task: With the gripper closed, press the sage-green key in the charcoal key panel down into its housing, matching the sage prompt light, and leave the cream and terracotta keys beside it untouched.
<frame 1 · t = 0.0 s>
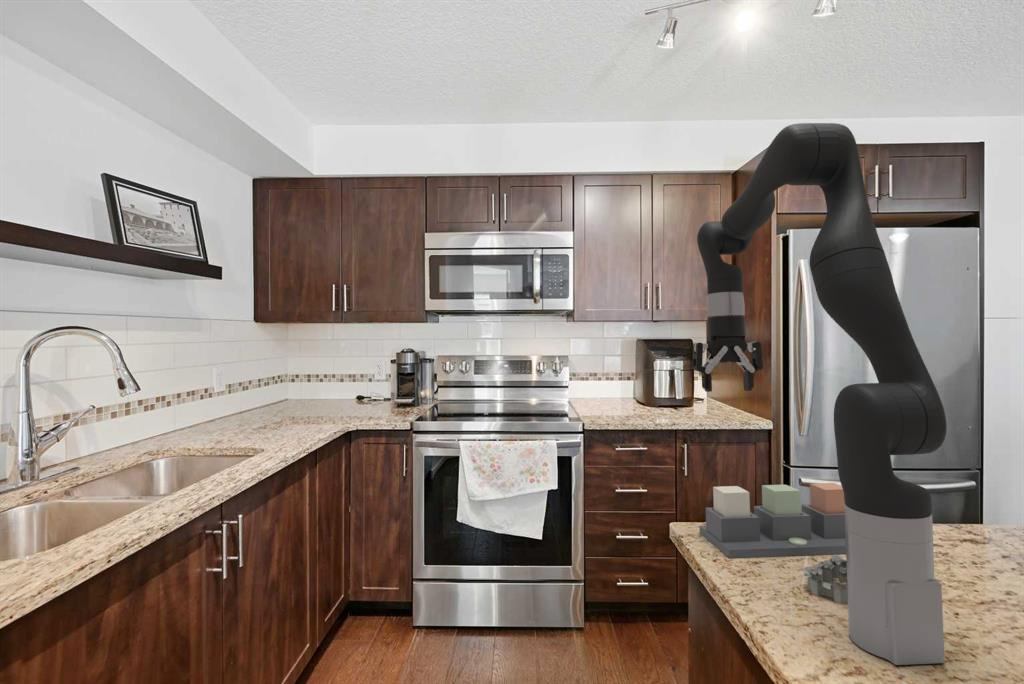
hand: (728, 391, 114), 29 cm above the countertop, fingers open, 8 cm apart
sage key: (780, 503, 106), point 8 cm above the countertop, slide at 0.0 cm
cream key: (731, 504, 106), point 7 cm above the countertop, slide at 0.0 cm
grey ruined fortress: (841, 592, 84), on the countertop
terracotta key: (830, 501, 107), point 7 cm above the countertop, slide at 0.0 cm
key panel: (783, 542, 106), on the countertop
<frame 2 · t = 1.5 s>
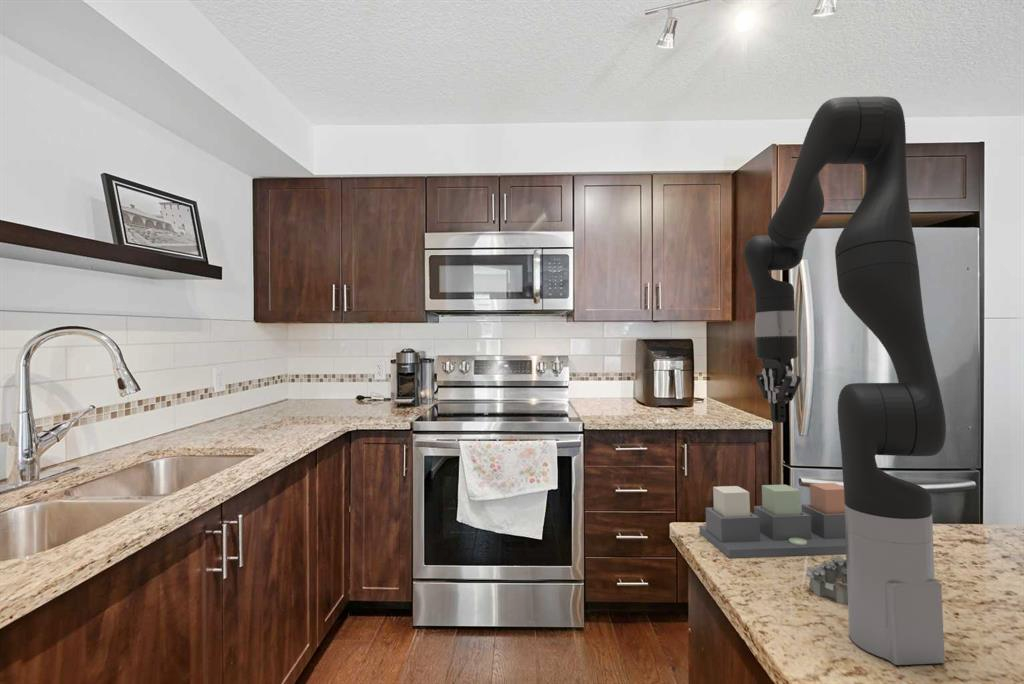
hand: (778, 422, 107), 23 cm above the countertop, fingers closed
nothing on the countertop moved.
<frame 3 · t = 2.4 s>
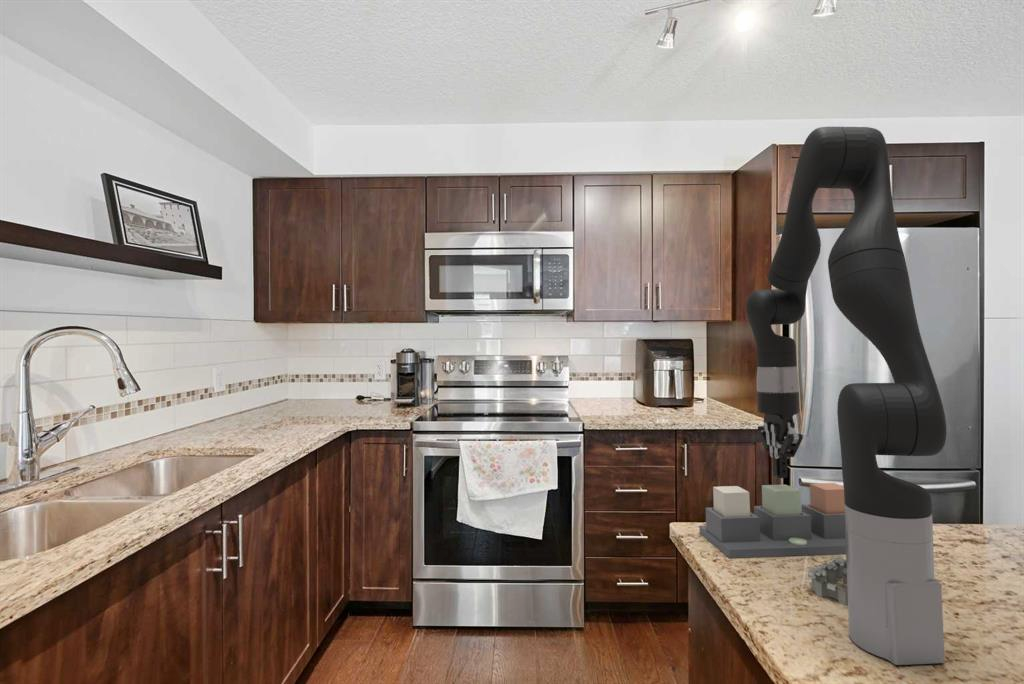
hand: (780, 477, 106), 13 cm above the countertop, fingers closed
nothing on the countertop moved.
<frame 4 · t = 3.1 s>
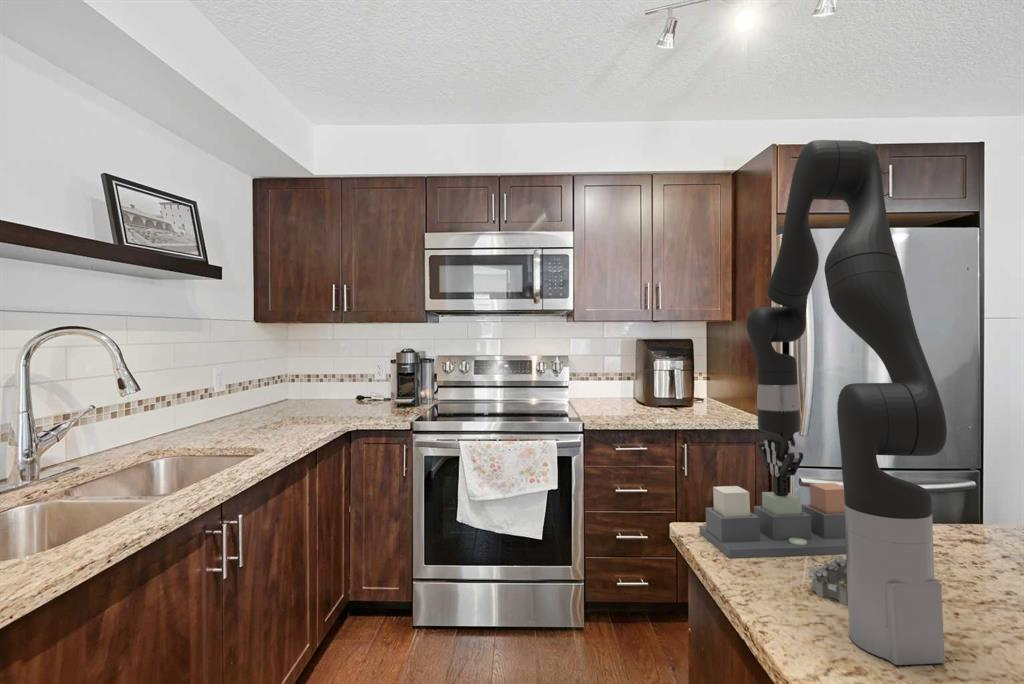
hand: (780, 494, 106), 9 cm above the countertop, fingers closed
sage key: (781, 510, 106), point 6 cm above the countertop, slide at 1.4 cm, touching gripper
everything else where it was.
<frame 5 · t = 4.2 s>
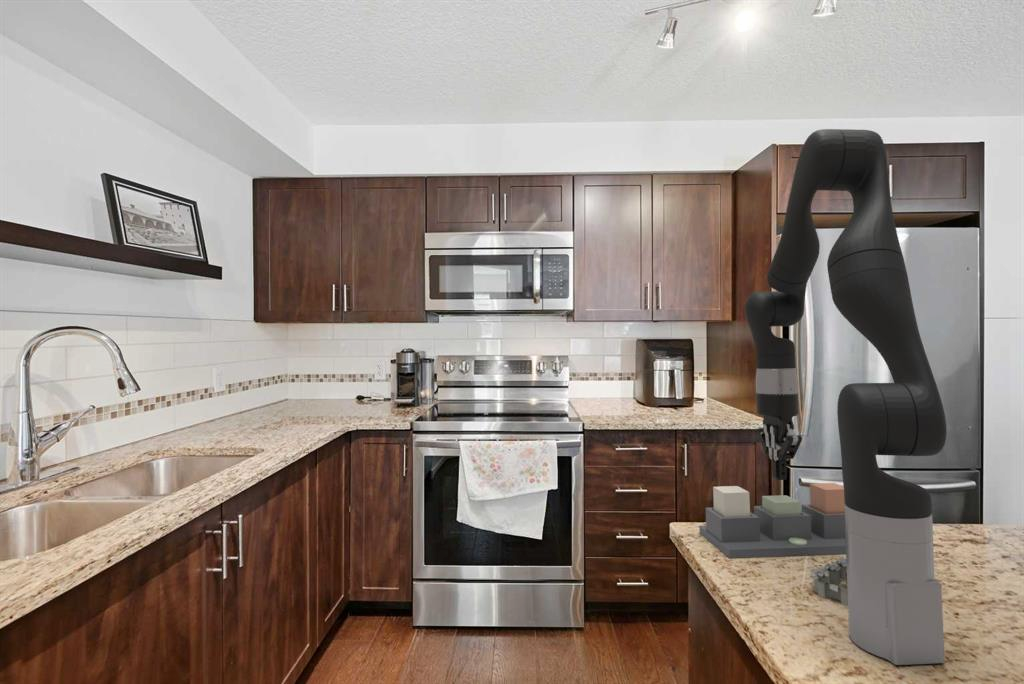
hand: (779, 479, 106), 12 cm above the countertop, fingers closed
sage key: (781, 514, 106), point 5 cm above the countertop, slide at 2.2 cm
everything else where it was.
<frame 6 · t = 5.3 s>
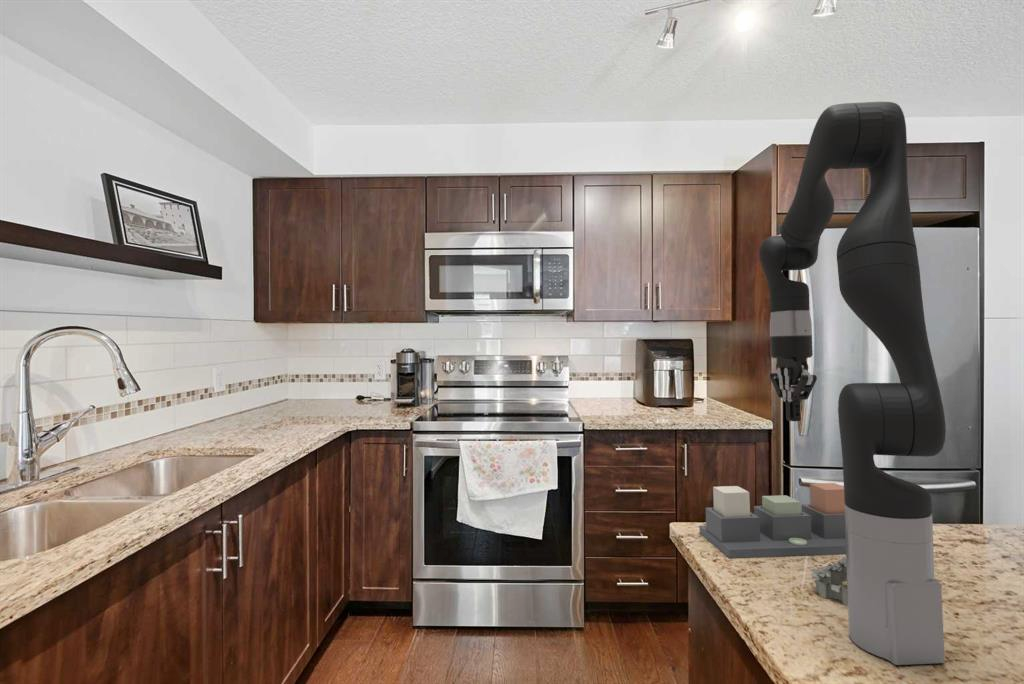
hand: (793, 420, 108), 24 cm above the countertop, fingers closed
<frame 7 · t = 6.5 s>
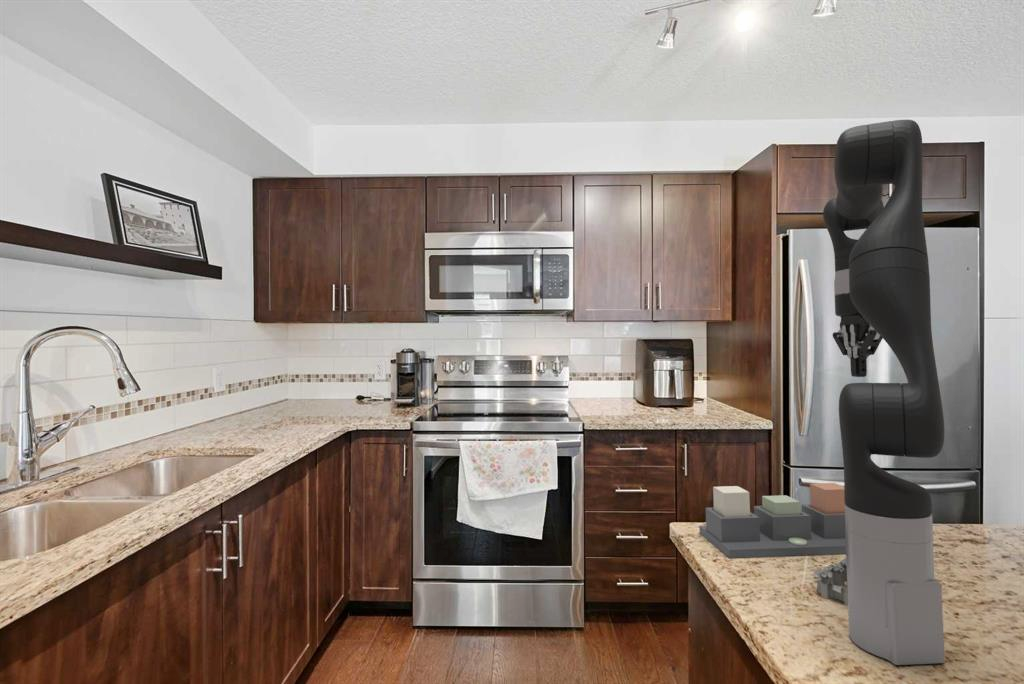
hand: (858, 376, 110), 32 cm above the countertop, fingers closed
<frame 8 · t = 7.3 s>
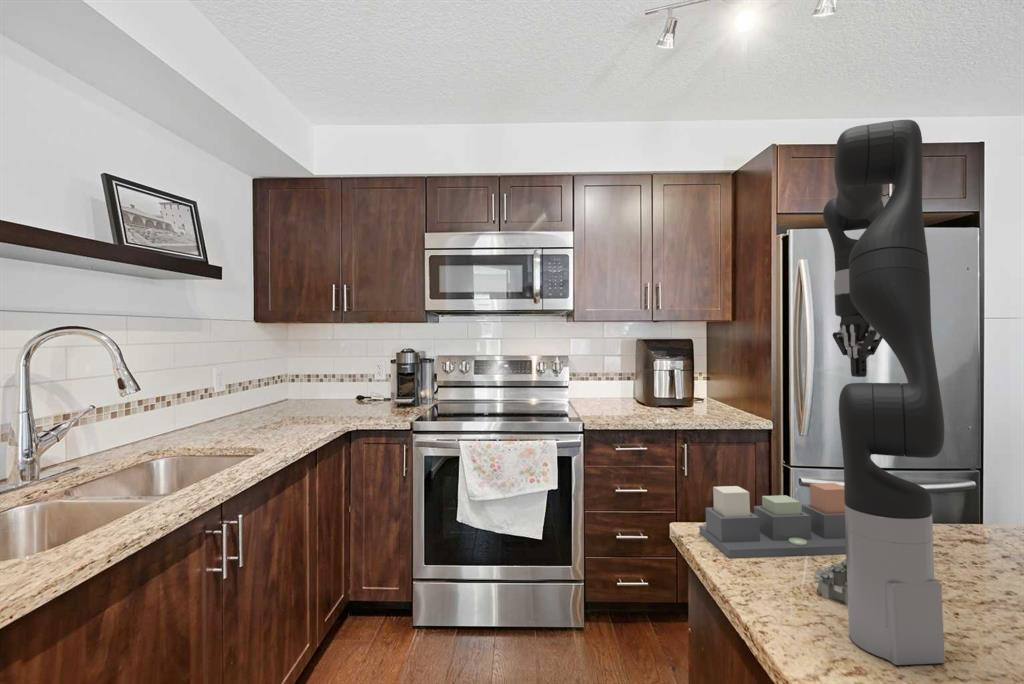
hand: (858, 376, 110), 32 cm above the countertop, fingers closed
at the end: sage key slide at 2.2 cm; cream key slide at 0.0 cm; terracotta key slide at 0.0 cm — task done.
